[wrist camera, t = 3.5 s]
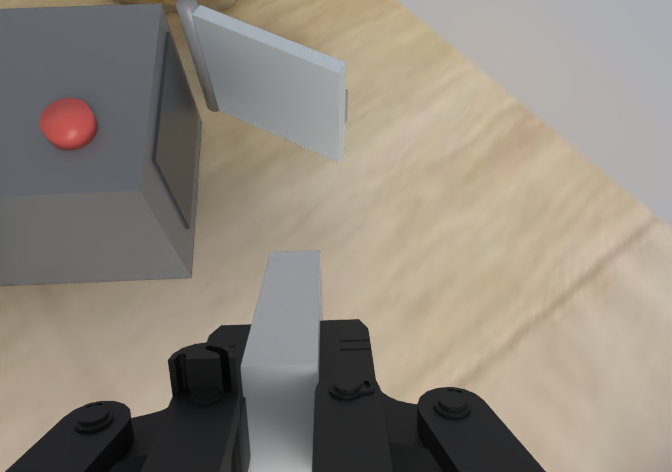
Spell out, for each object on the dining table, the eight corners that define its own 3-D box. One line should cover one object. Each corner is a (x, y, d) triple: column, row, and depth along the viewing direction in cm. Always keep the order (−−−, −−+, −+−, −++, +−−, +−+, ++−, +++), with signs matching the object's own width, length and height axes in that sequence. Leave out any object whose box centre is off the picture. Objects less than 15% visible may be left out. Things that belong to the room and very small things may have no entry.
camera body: (-2, 286, 31) (-138, 190, 22) (38, 106, 36) (-59, -30, 27) (194, 277, 31) (137, 179, 22) (205, 100, 36) (163, -38, 27)
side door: (337, 166, 33) (337, 73, 26) (203, 107, 34) (171, 6, 28) (347, 148, 33) (350, 53, 26) (215, 92, 35) (187, -11, 28)
